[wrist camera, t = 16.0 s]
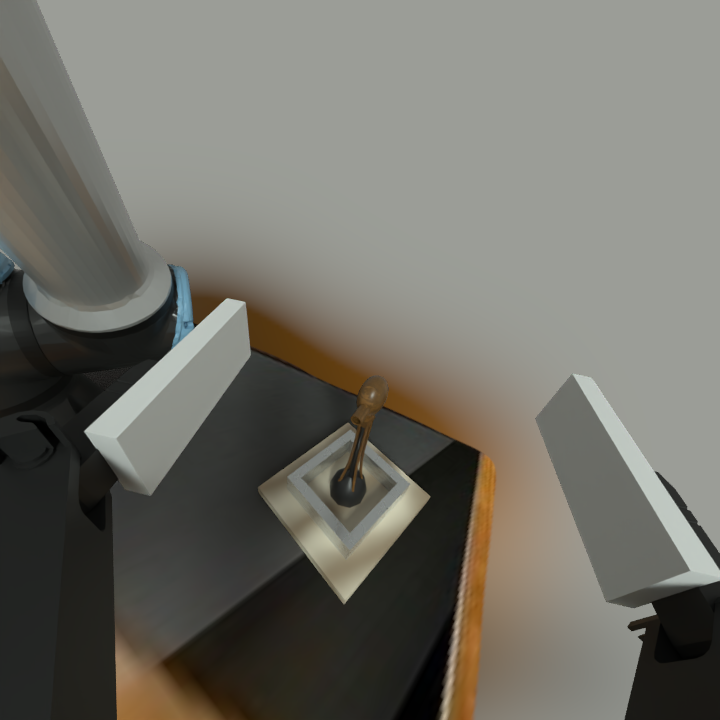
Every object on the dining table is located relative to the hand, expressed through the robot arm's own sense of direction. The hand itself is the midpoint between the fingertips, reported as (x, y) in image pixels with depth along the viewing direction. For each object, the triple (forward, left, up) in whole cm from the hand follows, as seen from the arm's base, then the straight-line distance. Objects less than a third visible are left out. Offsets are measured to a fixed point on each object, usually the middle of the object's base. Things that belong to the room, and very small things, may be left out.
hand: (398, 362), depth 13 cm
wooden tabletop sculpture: (-6, +8, -31) cm, 32 cm away
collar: (-6, +8, -30) cm, 32 cm away
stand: (-6, +8, -32) cm, 33 cm away
